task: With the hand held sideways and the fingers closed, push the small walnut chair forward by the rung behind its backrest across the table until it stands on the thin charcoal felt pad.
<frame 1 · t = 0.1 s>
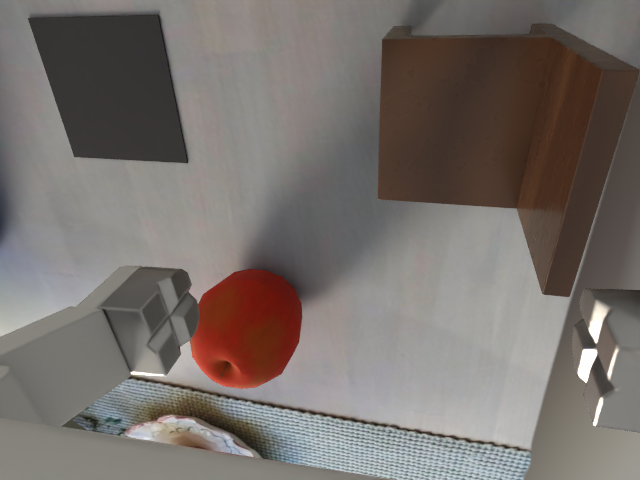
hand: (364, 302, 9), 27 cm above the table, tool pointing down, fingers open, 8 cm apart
pad: (112, 93, 39), on the table
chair: (460, 100, 32), on the table
apple: (267, 291, 46), on the table
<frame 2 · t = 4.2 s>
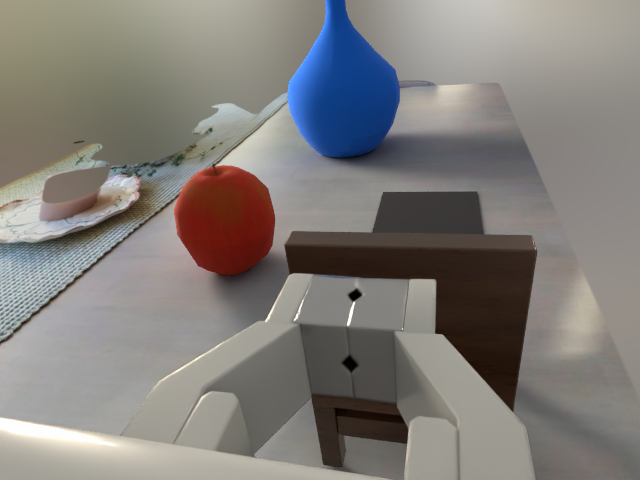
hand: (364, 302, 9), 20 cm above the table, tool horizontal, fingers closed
pad: (427, 213, 54), on the table
vase: (347, 149, 78), on the table
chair: (412, 411, 30), on the table
apple: (237, 264, 49), on the table
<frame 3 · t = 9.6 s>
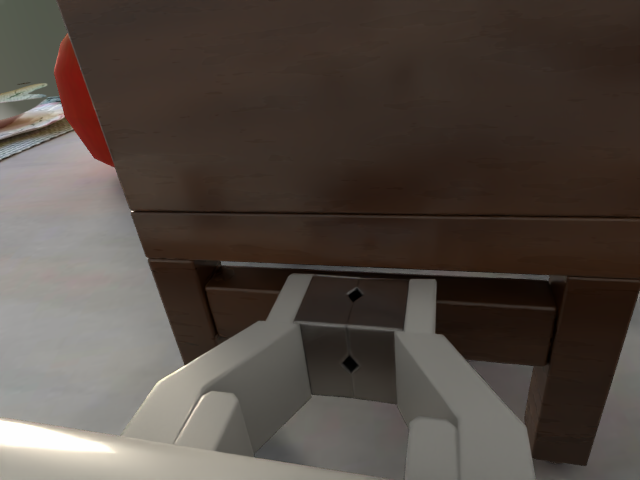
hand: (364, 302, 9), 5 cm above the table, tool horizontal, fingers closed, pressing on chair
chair: (392, 325, 16), on the table, touching gripper
apple: (158, 166, 35), on the table
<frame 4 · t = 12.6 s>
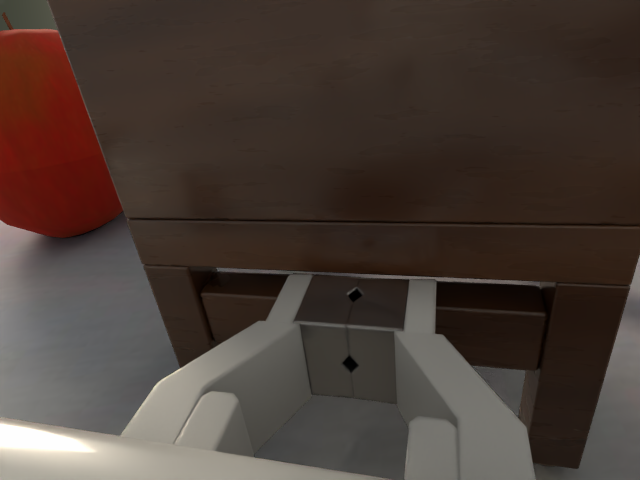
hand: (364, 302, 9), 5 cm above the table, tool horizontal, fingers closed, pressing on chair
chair: (388, 328, 16), on the table, touching gripper
apple: (89, 221, 28), on the table
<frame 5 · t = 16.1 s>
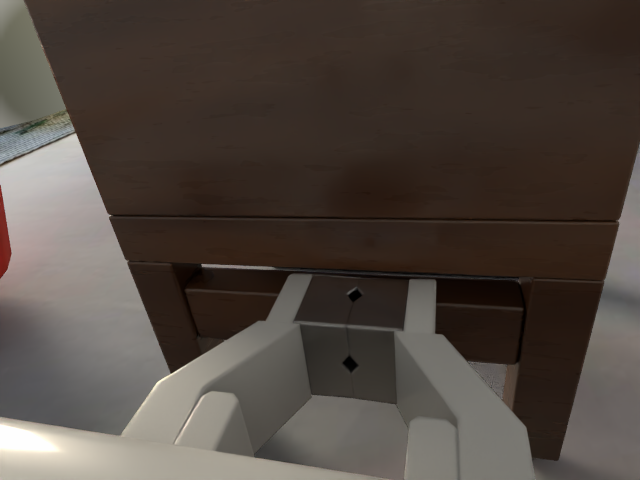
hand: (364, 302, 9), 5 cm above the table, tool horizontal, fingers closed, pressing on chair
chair: (376, 322, 16), on the table, touching gripper
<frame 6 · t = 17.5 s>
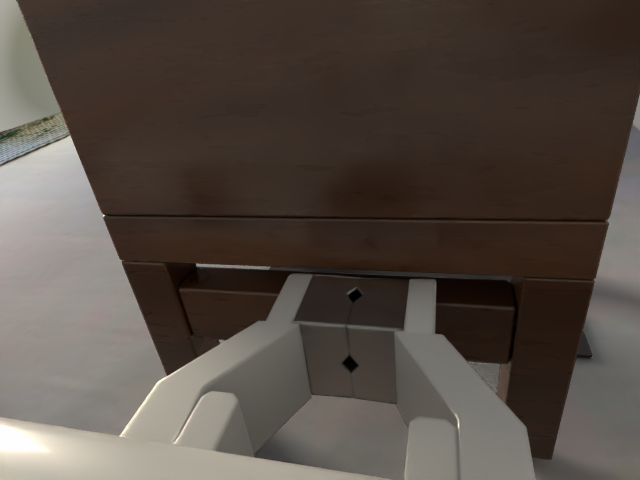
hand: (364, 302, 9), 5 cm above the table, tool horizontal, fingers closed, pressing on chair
pad: (408, 250, 20), on the table
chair: (372, 322, 16), on the table, touching gripper, pad
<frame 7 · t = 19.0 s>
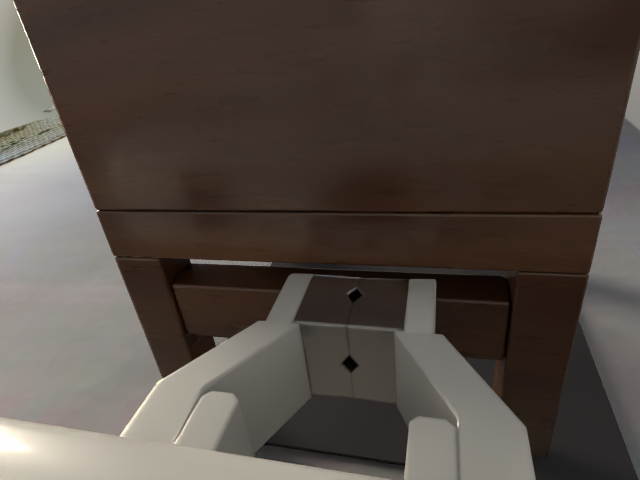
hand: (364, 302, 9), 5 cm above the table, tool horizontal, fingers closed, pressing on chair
pad: (399, 313, 17), on the table
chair: (368, 322, 16), resting on pad, touching gripper
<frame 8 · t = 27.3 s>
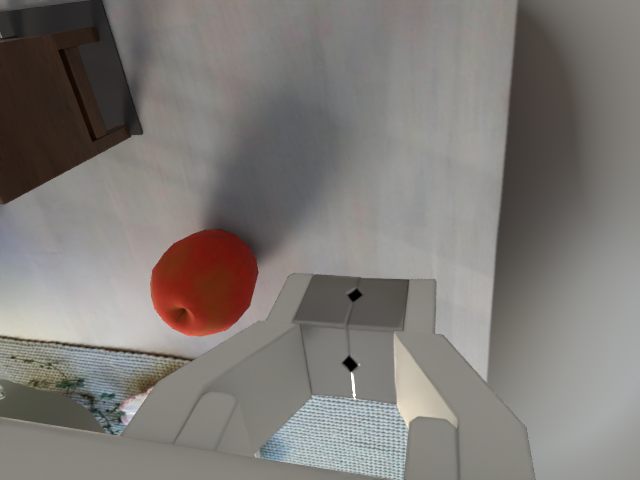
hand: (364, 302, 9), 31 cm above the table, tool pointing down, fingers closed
pad: (70, 75, 43), on the table
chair: (74, 87, 44), resting on pad
apple: (228, 253, 50), on the table
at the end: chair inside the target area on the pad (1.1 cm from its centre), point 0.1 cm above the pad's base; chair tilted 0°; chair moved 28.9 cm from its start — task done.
